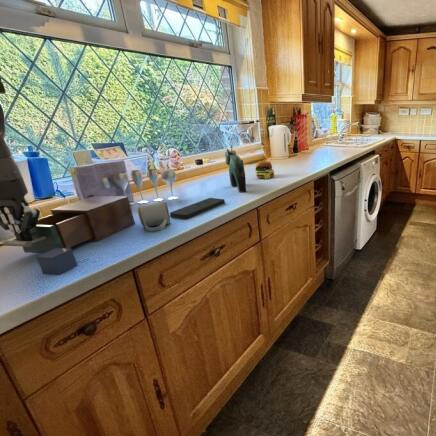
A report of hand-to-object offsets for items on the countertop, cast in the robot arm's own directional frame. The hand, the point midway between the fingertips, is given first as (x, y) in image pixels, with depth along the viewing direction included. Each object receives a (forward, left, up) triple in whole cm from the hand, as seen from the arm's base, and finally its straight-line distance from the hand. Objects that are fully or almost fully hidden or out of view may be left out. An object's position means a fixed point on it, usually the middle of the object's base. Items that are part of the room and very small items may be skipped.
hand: (27, 245), depth 76 cm
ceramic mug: (+16, +26, -5) cm, 31 cm away
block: (+12, -3, -4) cm, 13 cm away
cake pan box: (-19, +44, -5) cm, 48 cm away
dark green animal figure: (+21, +76, -5) cm, 79 cm away
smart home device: (+20, +43, -5) cm, 48 cm away
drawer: (0, +7, -4) cm, 8 cm away
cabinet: (0, +20, -4) cm, 20 cm away
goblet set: (-10, +51, -4) cm, 52 cm away
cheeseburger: (+25, +100, -5) cm, 103 cm away
